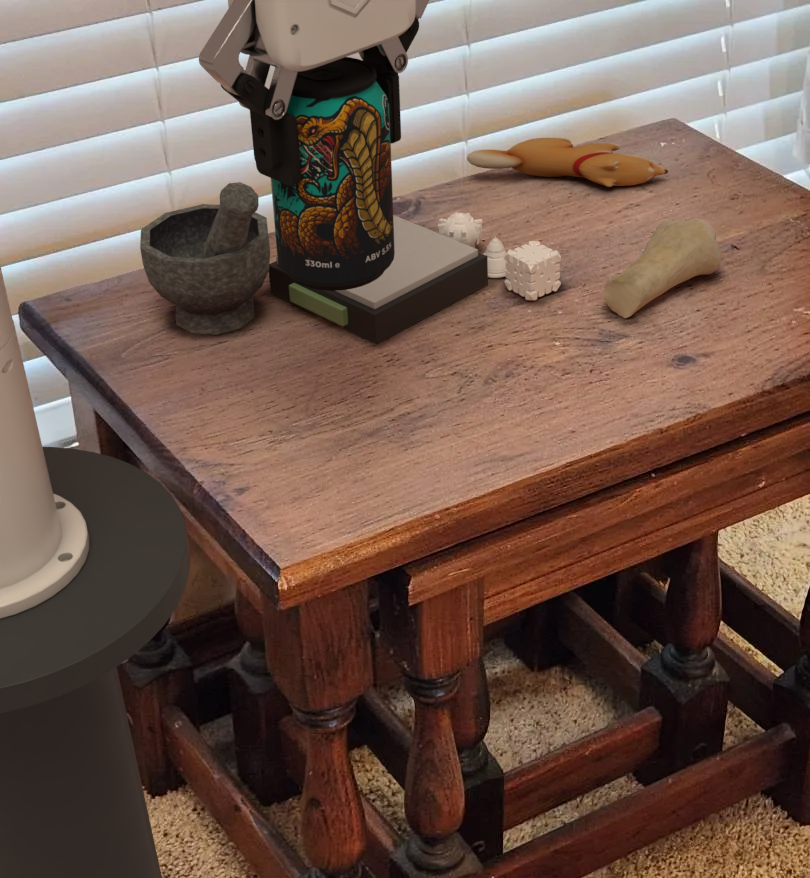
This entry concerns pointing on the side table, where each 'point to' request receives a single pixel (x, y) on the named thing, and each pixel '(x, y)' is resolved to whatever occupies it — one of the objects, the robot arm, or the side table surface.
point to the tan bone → (665, 264)
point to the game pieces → (509, 258)
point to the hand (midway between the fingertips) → (330, 154)
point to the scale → (395, 285)
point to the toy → (570, 161)
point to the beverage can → (337, 180)
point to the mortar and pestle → (209, 260)
